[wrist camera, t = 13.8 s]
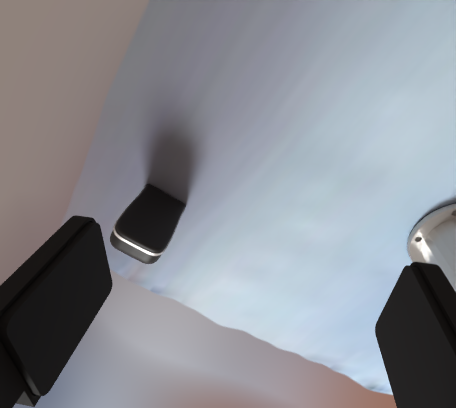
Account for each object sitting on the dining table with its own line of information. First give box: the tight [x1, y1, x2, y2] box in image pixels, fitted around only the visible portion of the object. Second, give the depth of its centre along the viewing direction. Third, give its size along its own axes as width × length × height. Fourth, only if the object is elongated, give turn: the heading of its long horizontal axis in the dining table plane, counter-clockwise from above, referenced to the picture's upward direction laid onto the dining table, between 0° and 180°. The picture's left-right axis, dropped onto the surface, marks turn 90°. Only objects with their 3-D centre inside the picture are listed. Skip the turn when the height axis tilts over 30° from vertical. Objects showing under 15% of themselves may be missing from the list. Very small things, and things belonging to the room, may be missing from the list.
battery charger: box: [110, 184, 186, 264], centre depth 41 cm, size 7×4×11 cm, turn 60°
